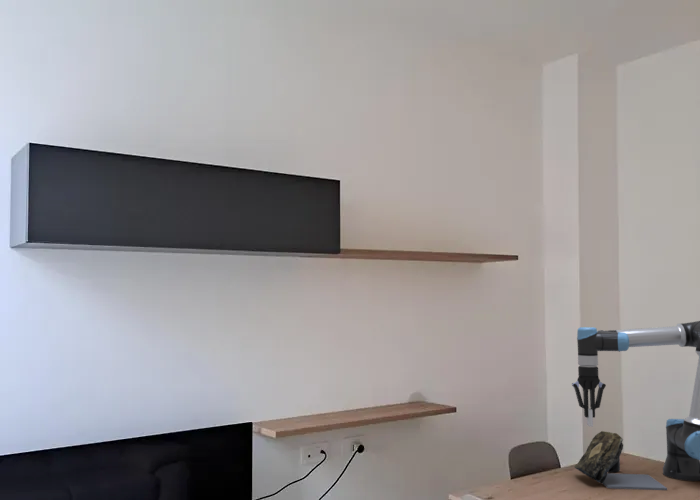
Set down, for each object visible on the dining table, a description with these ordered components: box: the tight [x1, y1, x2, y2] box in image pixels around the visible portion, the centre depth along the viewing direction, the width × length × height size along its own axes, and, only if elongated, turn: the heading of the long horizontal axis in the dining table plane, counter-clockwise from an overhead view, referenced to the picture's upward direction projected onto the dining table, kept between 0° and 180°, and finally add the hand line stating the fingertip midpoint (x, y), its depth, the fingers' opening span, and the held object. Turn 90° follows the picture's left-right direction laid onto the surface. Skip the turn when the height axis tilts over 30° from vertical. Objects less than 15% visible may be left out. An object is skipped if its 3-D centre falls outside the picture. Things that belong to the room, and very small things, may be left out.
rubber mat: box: [601, 472, 668, 491], centre depth 251 cm, size 22×19×1 cm
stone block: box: [574, 430, 624, 485], centre depth 254 cm, size 18×9×20 cm
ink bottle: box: [608, 456, 621, 473], centre depth 270 cm, size 10×9×12 cm
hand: (590, 425), depth 253 cm, fingers closed
